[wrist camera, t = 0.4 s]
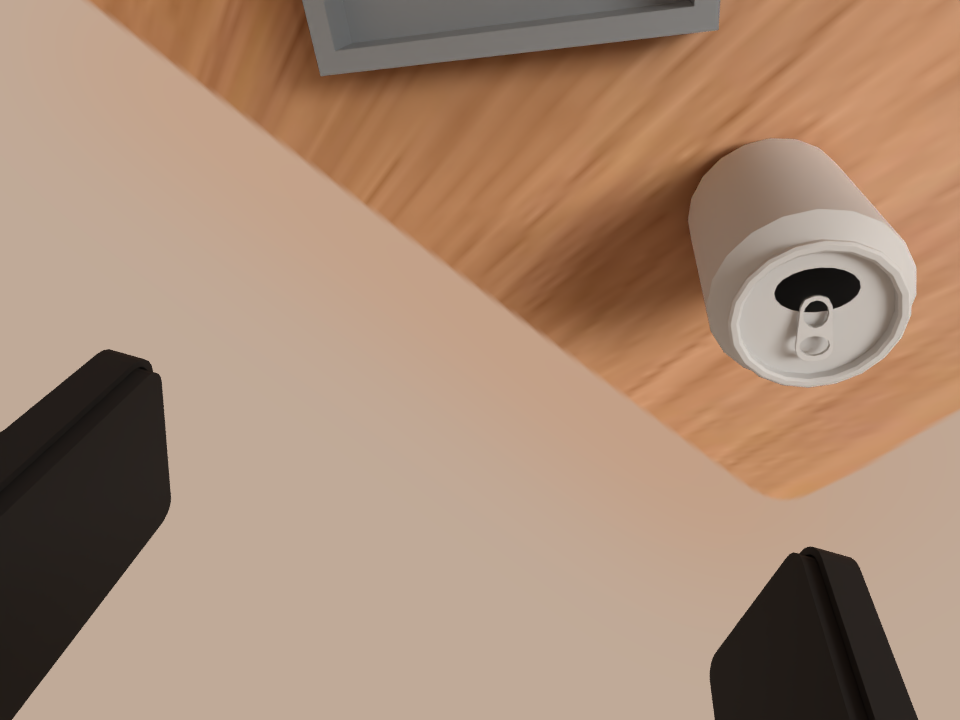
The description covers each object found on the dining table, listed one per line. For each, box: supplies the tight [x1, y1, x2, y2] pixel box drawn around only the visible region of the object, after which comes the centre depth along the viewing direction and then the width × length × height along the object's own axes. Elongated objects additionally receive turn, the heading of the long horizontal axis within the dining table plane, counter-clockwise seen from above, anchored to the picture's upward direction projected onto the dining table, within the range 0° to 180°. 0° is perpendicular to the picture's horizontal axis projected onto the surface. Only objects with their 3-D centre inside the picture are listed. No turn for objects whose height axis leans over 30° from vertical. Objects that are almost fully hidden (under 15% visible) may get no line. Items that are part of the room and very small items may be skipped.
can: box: [688, 138, 916, 388], centre depth 29 cm, size 8×8×12 cm
